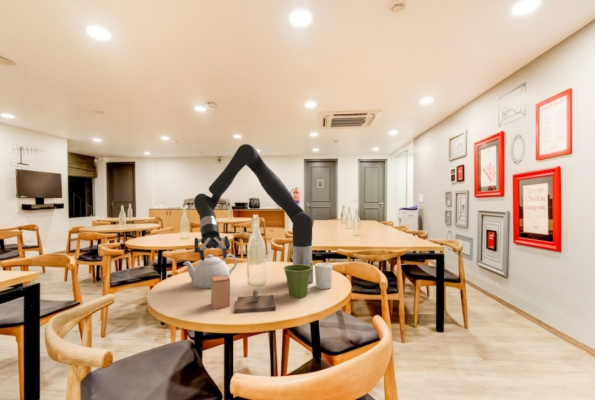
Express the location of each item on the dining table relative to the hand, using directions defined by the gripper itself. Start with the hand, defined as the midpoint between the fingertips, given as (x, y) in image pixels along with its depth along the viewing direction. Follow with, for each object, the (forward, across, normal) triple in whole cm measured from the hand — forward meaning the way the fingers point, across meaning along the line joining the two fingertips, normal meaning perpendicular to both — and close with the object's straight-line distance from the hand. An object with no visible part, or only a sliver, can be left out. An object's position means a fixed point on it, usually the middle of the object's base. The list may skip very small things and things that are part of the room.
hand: (214, 258), depth 106 cm
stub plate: (+23, +12, -2) cm, 26 cm away
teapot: (-1, +2, +23) cm, 23 cm away
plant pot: (+22, +30, -1) cm, 38 cm away
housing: (+19, 0, +2) cm, 19 cm away
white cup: (+20, +45, +1) cm, 49 cm away
